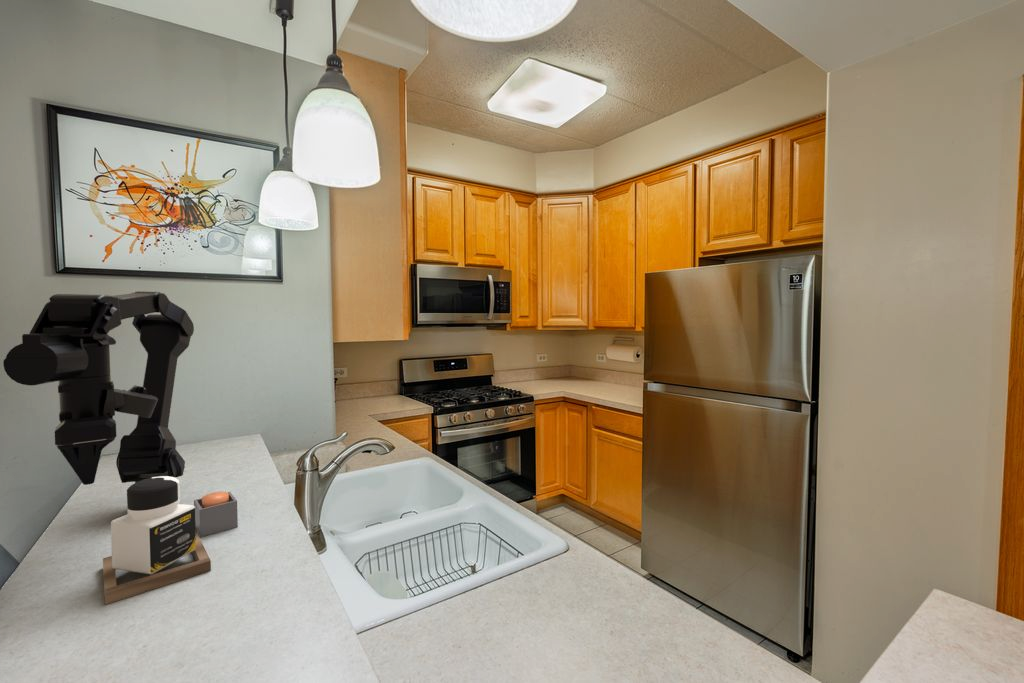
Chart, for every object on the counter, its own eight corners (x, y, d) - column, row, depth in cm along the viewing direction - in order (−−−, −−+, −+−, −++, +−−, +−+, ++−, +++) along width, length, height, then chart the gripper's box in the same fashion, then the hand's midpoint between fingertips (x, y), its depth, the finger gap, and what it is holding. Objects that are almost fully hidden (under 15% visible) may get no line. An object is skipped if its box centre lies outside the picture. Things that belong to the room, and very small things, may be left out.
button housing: (194, 526, 79) (193, 500, 79) (230, 516, 83) (230, 491, 83) (200, 537, 75) (199, 509, 75) (237, 526, 79) (237, 500, 79)
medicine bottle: (151, 575, 61) (148, 491, 61) (110, 569, 63) (108, 487, 62) (197, 549, 68) (195, 474, 68) (160, 544, 70) (157, 470, 69)
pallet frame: (103, 568, 66) (102, 558, 66) (197, 541, 74) (197, 532, 74) (105, 604, 57) (104, 593, 57) (210, 570, 65) (210, 560, 65)
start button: (200, 506, 79) (199, 495, 79) (226, 500, 82) (225, 489, 82) (204, 513, 76) (204, 502, 76) (231, 507, 79) (230, 496, 79)
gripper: (159, 377, 66) (162, 479, 67) (147, 367, 79) (150, 452, 80) (52, 384, 58) (57, 499, 59) (59, 372, 72) (63, 465, 72)
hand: (88, 475), depth 68 cm, fingers open, 9 cm apart
